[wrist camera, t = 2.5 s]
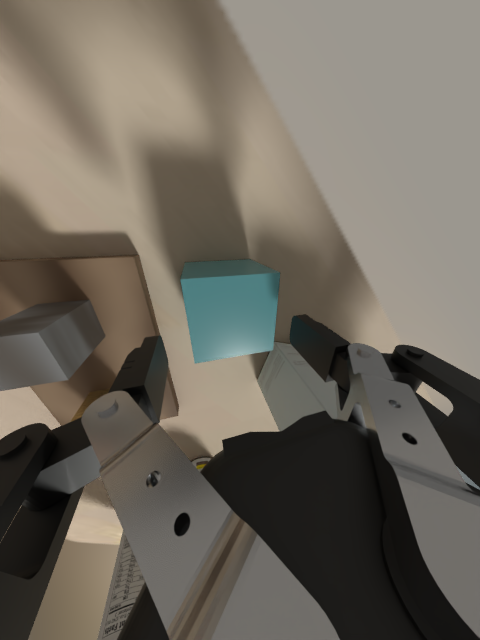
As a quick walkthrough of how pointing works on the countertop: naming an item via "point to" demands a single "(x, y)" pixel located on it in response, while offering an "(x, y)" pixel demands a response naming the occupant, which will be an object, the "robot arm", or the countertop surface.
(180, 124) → the countertop surface
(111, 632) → the energy drink can
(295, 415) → the supplement box
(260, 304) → the teal block
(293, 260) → the countertop surface
